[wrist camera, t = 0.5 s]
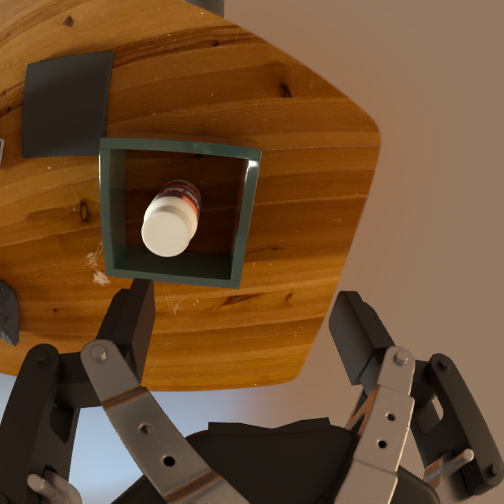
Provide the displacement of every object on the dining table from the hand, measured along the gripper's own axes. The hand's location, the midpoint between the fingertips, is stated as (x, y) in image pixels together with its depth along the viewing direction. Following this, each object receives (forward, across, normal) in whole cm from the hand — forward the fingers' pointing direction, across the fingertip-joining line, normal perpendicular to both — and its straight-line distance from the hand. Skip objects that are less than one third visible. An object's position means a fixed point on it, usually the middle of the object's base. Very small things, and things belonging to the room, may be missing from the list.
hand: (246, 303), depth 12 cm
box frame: (+19, +5, +3) cm, 20 cm away
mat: (+19, +19, -8) cm, 28 cm away
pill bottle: (+20, +5, +3) cm, 20 cm away
